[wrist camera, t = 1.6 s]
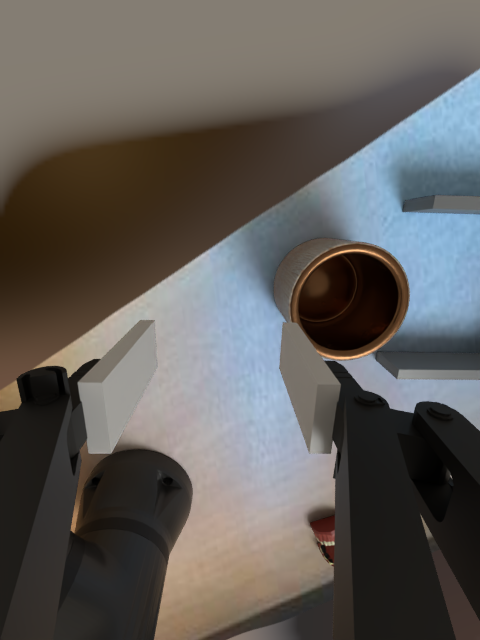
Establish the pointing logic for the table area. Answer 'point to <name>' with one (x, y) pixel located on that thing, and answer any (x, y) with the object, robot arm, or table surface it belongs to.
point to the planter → (342, 295)
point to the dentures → (325, 537)
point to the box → (435, 362)
